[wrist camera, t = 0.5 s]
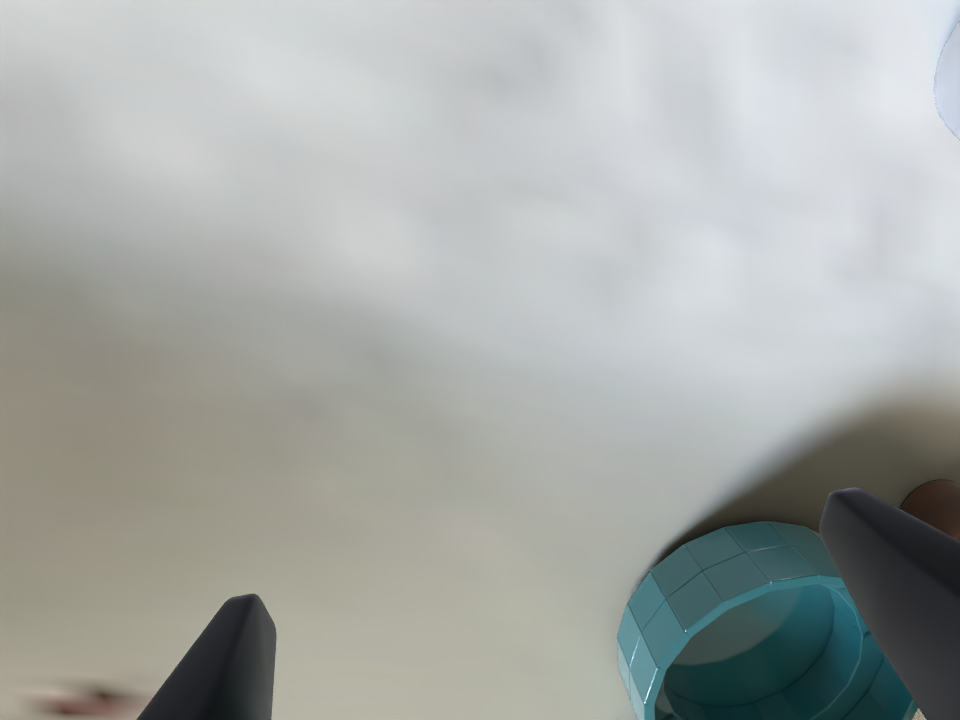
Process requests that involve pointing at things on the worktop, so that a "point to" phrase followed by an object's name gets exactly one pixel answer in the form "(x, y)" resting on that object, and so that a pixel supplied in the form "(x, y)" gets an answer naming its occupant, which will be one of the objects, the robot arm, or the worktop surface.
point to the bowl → (753, 635)
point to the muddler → (937, 506)
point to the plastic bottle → (949, 83)
